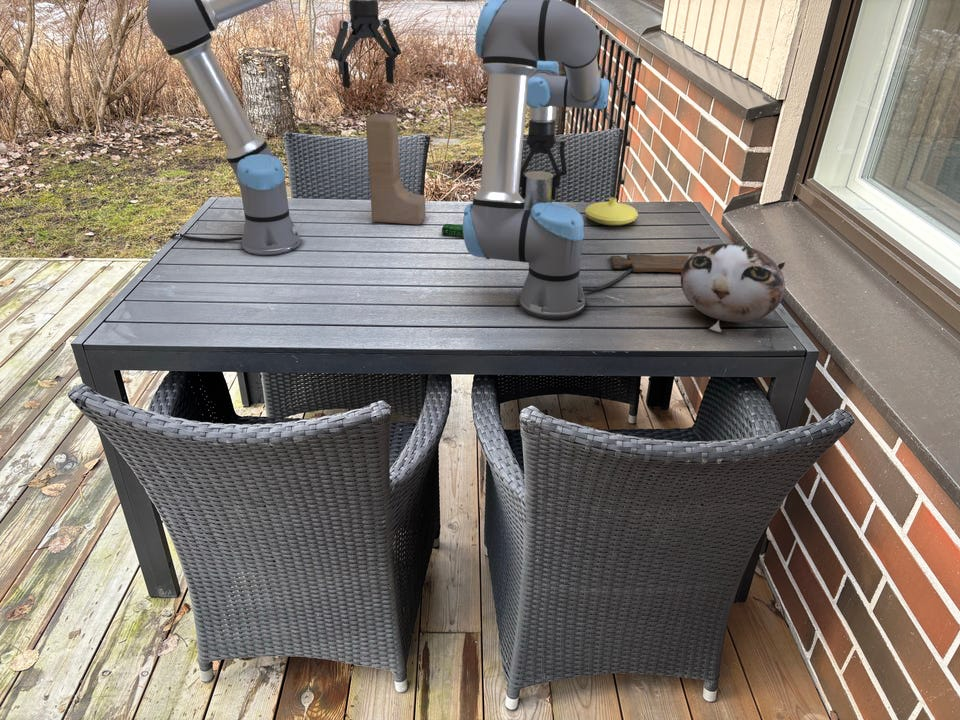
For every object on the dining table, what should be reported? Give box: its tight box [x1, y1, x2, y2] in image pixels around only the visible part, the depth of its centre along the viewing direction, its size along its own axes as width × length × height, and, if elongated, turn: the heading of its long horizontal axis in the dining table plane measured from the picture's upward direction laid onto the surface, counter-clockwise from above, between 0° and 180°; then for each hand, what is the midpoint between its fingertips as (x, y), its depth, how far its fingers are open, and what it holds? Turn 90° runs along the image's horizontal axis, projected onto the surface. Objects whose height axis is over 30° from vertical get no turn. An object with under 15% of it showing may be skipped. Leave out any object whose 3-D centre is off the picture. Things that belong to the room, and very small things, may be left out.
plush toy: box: [680, 243, 786, 333], centre depth 158 cm, size 22×18×20 cm
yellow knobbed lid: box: [584, 197, 639, 227], centre depth 215 cm, size 16×16×7 cm
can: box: [524, 170, 555, 210], centre depth 212 cm, size 8×8×10 cm
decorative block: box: [365, 113, 426, 226], centre depth 208 cm, size 8×15×30 cm, turn 82°
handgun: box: [441, 223, 464, 238], centre depth 207 cm, size 16×3×15 cm
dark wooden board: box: [609, 253, 690, 274], centre depth 188 cm, size 26×2×10 cm
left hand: (368, 85), depth 198 cm, fingers open, 13 cm apart
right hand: (537, 197), depth 213 cm, fingers closed on can, 8 cm apart
